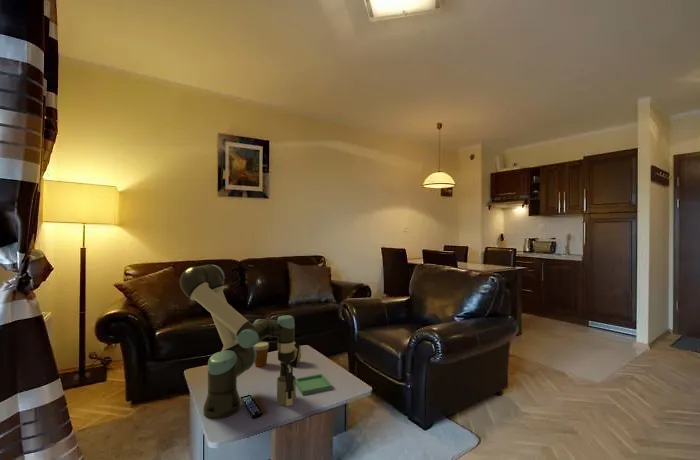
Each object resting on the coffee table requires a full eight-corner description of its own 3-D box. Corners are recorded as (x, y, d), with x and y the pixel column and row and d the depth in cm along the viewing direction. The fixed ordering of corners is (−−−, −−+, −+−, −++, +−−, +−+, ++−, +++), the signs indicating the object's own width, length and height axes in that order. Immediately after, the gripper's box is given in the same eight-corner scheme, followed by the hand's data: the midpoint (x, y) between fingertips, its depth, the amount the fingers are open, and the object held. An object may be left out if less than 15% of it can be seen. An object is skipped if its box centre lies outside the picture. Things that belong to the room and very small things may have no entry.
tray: (302, 395, 158) (302, 391, 158) (294, 382, 172) (294, 378, 172) (332, 388, 164) (332, 385, 164) (322, 376, 178) (322, 373, 178)
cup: (291, 406, 148) (291, 383, 148) (274, 404, 150) (273, 381, 150) (298, 396, 156) (298, 375, 156) (281, 395, 158) (281, 373, 158)
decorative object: (291, 363, 201) (304, 367, 196) (279, 364, 193) (292, 368, 188) (295, 341, 205) (307, 344, 199) (283, 341, 196) (296, 344, 191)
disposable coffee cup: (251, 362, 197) (251, 342, 197) (268, 361, 200) (268, 340, 200) (252, 369, 188) (252, 347, 188) (269, 367, 191) (269, 345, 191)
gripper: (300, 357, 144) (301, 409, 144) (288, 342, 165) (288, 388, 164) (283, 360, 141) (283, 413, 141) (273, 344, 162) (273, 391, 161)
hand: (286, 400), depth 153 cm, fingers open, 9 cm apart
